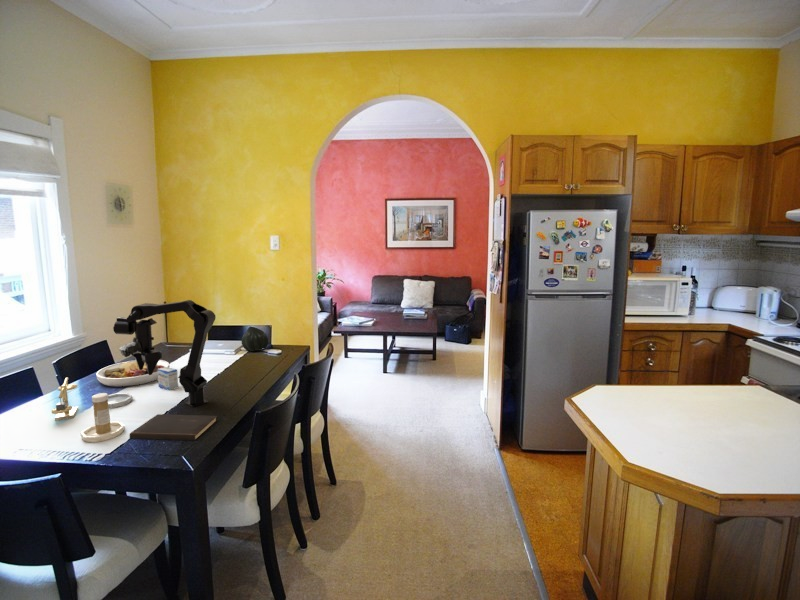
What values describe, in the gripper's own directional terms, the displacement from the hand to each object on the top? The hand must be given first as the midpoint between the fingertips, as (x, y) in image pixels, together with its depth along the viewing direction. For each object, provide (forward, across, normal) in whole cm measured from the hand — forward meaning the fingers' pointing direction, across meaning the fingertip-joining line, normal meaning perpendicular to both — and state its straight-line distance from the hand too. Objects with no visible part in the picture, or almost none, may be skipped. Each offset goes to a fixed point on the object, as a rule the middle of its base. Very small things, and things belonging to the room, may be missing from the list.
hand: (145, 372), depth 177 cm
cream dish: (+13, +18, -21) cm, 31 cm away
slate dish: (+14, -10, -9) cm, 19 cm away
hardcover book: (+13, +34, -3) cm, 36 cm away
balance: (+14, -11, -25) cm, 30 cm away
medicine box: (+13, -12, +13) cm, 22 cm away
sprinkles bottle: (+12, +18, -21) cm, 31 cm away
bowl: (+14, -38, +9) cm, 42 cm away
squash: (+13, -38, +74) cm, 84 cm away
